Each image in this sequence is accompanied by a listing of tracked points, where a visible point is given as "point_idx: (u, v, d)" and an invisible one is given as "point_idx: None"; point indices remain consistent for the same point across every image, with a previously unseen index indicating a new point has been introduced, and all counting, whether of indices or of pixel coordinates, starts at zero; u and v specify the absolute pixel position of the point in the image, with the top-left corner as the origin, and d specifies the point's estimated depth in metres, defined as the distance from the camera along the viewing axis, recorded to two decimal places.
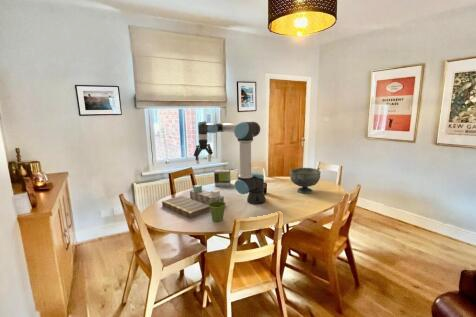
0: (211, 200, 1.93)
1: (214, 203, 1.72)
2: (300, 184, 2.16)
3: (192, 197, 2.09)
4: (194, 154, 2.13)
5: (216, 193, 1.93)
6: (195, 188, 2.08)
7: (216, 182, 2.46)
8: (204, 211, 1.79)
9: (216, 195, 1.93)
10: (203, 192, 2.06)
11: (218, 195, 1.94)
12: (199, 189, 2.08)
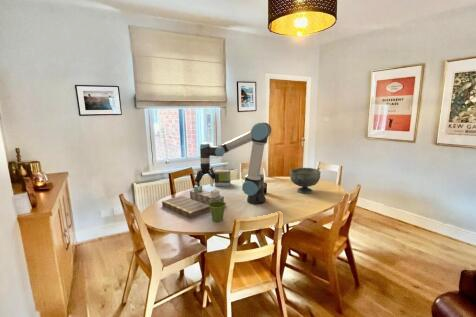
0: (211, 200, 1.93)
1: (214, 203, 1.72)
2: (300, 184, 2.16)
3: (192, 197, 2.09)
4: (195, 180, 1.94)
5: (216, 193, 1.93)
6: (195, 188, 2.08)
7: (216, 182, 2.46)
8: (204, 211, 1.79)
9: (216, 195, 1.93)
10: (203, 192, 2.06)
11: (218, 195, 1.95)
12: None
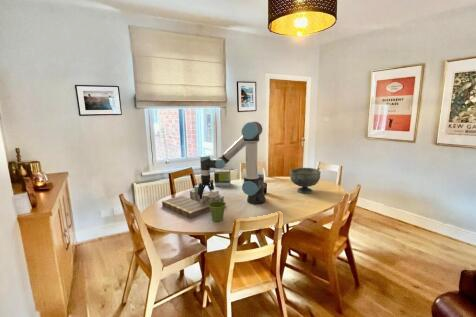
0: (211, 200, 1.93)
1: (214, 203, 1.72)
2: (300, 184, 2.16)
3: (192, 197, 2.09)
4: (198, 193, 1.97)
5: (215, 193, 1.93)
6: (196, 188, 2.07)
7: (216, 182, 2.46)
8: (204, 211, 1.79)
9: (215, 195, 1.94)
10: (203, 192, 2.06)
11: (217, 195, 1.95)
12: None
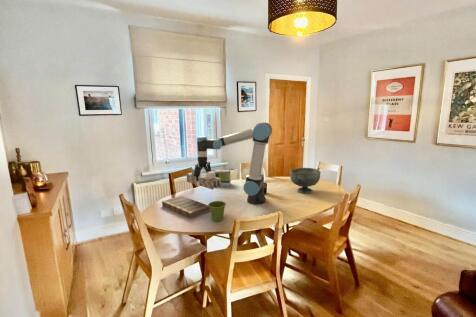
0: (208, 182, 1.88)
1: (214, 203, 1.72)
2: (300, 184, 2.16)
3: (189, 180, 2.05)
4: (194, 174, 1.93)
5: (211, 174, 1.89)
6: (193, 171, 2.02)
7: None
8: (204, 211, 1.79)
9: (211, 176, 1.89)
10: (200, 174, 2.01)
11: (213, 176, 1.91)
12: None
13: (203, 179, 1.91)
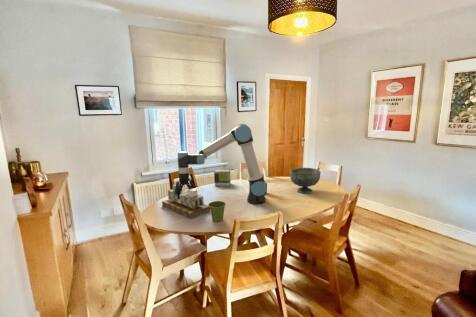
0: (189, 200, 1.76)
1: (214, 203, 1.72)
2: (300, 184, 2.16)
3: (170, 197, 1.93)
4: (175, 192, 1.81)
5: (193, 192, 1.77)
6: (174, 188, 1.90)
7: (216, 182, 2.46)
8: (204, 211, 1.79)
9: (193, 194, 1.78)
10: (182, 192, 1.89)
11: (195, 194, 1.79)
12: None
13: (184, 197, 1.80)
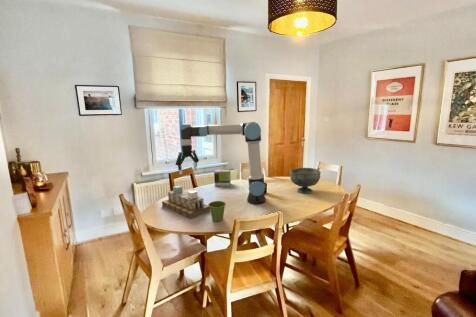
0: (189, 202, 1.77)
1: (214, 203, 1.72)
2: (300, 184, 2.16)
3: (170, 199, 1.93)
4: (176, 163, 1.80)
5: (193, 194, 1.78)
6: (175, 189, 1.91)
7: (216, 182, 2.46)
8: (204, 211, 1.79)
9: (193, 196, 1.78)
10: (182, 193, 1.90)
11: (195, 196, 1.80)
12: (179, 190, 1.91)
13: (184, 199, 1.80)
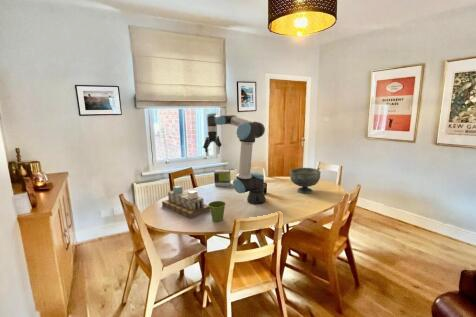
0: (189, 202, 1.77)
1: (214, 203, 1.72)
2: (300, 184, 2.16)
3: (170, 199, 1.93)
4: (204, 146, 2.14)
5: (193, 194, 1.78)
6: (175, 189, 1.91)
7: (216, 182, 2.46)
8: (204, 211, 1.79)
9: (193, 196, 1.78)
10: (182, 193, 1.90)
11: (195, 196, 1.80)
12: (179, 190, 1.91)
13: (184, 199, 1.80)
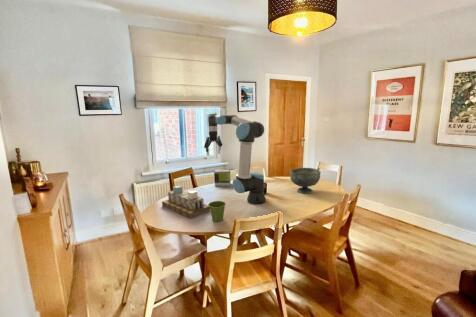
0: (189, 202, 1.77)
1: (214, 203, 1.72)
2: (300, 184, 2.16)
3: (170, 199, 1.93)
4: (204, 146, 2.15)
5: (193, 194, 1.78)
6: (175, 189, 1.91)
7: (216, 182, 2.46)
8: (204, 211, 1.79)
9: (193, 196, 1.78)
10: (182, 193, 1.90)
11: (195, 196, 1.80)
12: (179, 190, 1.91)
13: (184, 199, 1.80)
